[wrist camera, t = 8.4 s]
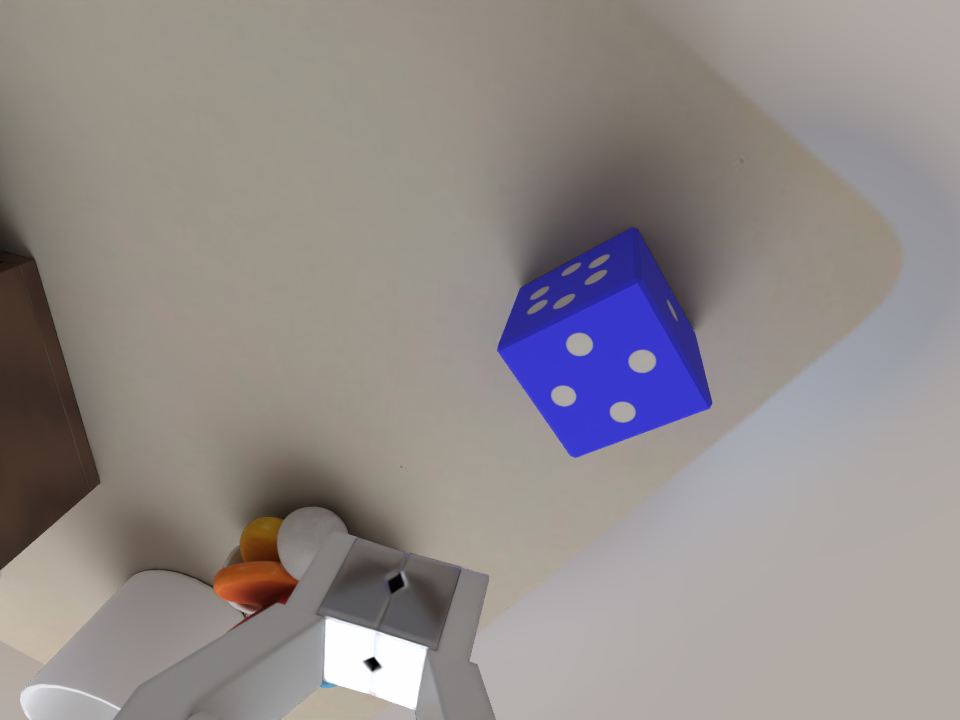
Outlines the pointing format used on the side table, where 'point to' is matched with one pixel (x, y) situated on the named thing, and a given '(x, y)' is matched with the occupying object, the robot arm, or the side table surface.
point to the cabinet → (35, 416)
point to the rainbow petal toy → (273, 560)
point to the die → (605, 347)
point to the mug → (128, 646)
